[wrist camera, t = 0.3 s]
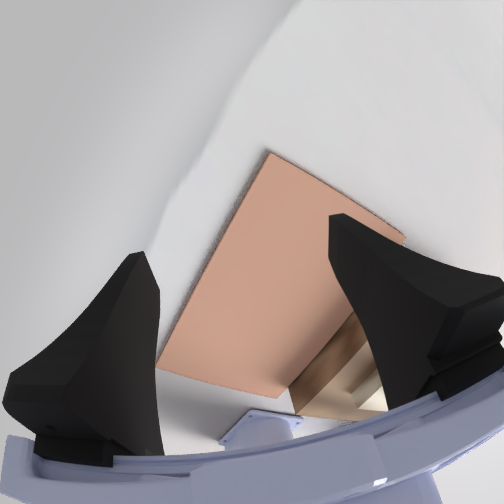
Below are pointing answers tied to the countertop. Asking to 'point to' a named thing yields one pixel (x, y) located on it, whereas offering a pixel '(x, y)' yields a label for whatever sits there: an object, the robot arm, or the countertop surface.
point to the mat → (267, 287)
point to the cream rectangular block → (370, 394)
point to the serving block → (336, 376)
